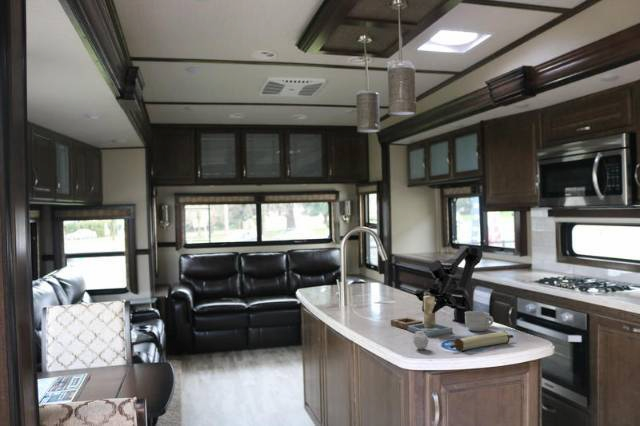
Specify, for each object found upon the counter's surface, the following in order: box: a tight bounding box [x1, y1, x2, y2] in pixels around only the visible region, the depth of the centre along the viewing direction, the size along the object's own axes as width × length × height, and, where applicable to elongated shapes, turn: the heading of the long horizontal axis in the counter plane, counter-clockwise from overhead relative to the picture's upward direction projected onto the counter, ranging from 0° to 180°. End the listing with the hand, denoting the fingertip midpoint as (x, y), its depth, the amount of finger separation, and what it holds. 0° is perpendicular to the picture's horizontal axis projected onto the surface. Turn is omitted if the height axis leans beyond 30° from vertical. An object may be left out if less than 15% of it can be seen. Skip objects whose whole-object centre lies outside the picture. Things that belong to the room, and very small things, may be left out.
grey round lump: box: [412, 331, 429, 351], centre depth 195 cm, size 6×7×7 cm
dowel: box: [423, 296, 436, 329], centre depth 222 cm, size 5×5×14 cm
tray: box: [407, 322, 453, 338], centre depth 222 cm, size 14×14×2 cm
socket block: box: [390, 316, 424, 330], centre depth 235 cm, size 11×11×2 cm
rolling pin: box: [449, 330, 514, 352], centre depth 196 cm, size 32×6×5 cm, turn 114°
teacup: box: [464, 310, 494, 332], centre depth 222 cm, size 14×11×8 cm
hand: (427, 312), depth 221 cm, fingers closed on dowel, 5 cm apart
